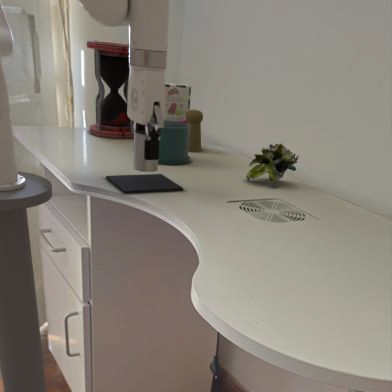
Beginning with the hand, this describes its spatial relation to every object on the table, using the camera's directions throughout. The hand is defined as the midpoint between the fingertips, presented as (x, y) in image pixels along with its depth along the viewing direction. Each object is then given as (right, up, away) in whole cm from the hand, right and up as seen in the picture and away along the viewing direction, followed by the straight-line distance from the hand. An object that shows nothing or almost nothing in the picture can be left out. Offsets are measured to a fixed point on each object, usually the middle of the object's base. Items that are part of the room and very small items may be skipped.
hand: (145, 155), depth 104 cm
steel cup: (0, -2, +2) cm, 3 cm away
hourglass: (-16, +28, +50) cm, 59 cm away
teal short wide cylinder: (+3, +10, +27) cm, 29 cm away
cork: (+10, +18, +41) cm, 46 cm away
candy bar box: (+2, +24, +48) cm, 54 cm away
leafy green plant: (+30, -1, +15) cm, 34 cm away
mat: (-1, -5, +3) cm, 6 cm away
